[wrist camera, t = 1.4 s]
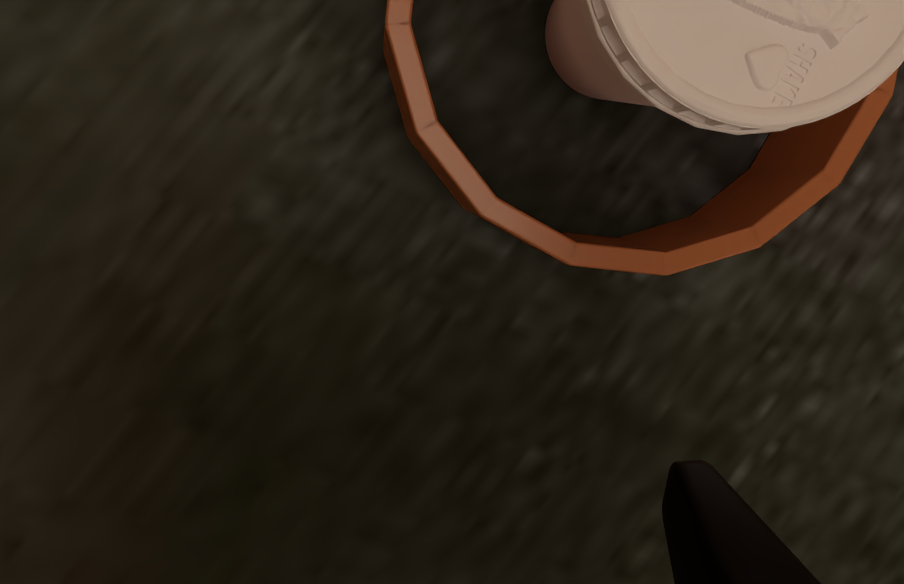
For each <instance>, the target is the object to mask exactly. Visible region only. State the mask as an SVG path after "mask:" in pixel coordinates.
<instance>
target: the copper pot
mask: <svg viewBox="0 0 904 584" xmlns="http://www.w3.org/2000/svg"><path fill="white" fill-rule="evenodd" d="M412 9H413V0H387V8H386V18H385V28H384V38H383V53H384V57H385V60H386V64H387V67H388V71H389V74H390V78H391V81H392V85H393V88H394V92H395V95H396V99H397V102H398V105H399V109H400V112H401V116H402V119H403V123H404V126H405V130H406V133H407V137H408V138H409V140H410V142H411V143H412V144H413V145H414V147H415V148H416V149H417V151H418V152H419V153H420V154H421V156H422V157H423V158H424V160H425V161H426V162H427V163H428V165H429V166H430V167H431V168H432V170H433V171H434V172H435V174H436V175H437V176H438V177H439V179H440V180H441V181H442V182H443V184H444V185H445V186H446V188H447V189H448V190H449V191H450V193H451V194H452V195H453V197H454V198H455V199H456V200H457V202H458V203H459V204H460V205H461V207H463V208H464V209H465V210H467V211H469V212H471V213H472V214H474V215H476V216H478V217H480V218H481V219H483V220H485V221H487V222H488V223H490V224H492V225H494V226H496V227H497V228H499V229H501V230H503V231H505V232H506V233H508V234H510V235H512V236H514V237H515V238H517V239H519V240H521V241H522V242H524V243H526V244H528V245H530V246H531V247H533V248H535V249H537V250H539V251H541V252H543V253H545V254H547V255H549V256H551V257H553V258H555V259H557V260H559V261H561V262H563V263H565V264H567V265H569V266H577V267H586V268H596V269H606V270H615V271H625V272H634V273H644V274H653V275H663V276H666V275H667V276H668V275H671V274H674V273H677V272H681V271H684V270H687V269H691V268H694V267H697V266H701V265H704V264H707V263H711V262H714V261H717V260H721V259H724V258H727V257H730V256H734V255H737V254H740V253H744V252H747V251H750V250H754V249H757V248H760V247H761V246H762V245H764V244H765V243H766V242H767V241H769V240H770V239H771V238H772V237H774V236H775V235H776V234H777V233H779V232H780V231H781V230H782V229H784V228H785V227H786V226H787V225H789V224H790V223H791V222H792V221H794V220H795V219H796V218H797V217H799V216H800V215H801V214H803V213H804V212H805V211H806V210H808V209H809V208H810V207H811V206H813V205H814V204H815V203H816V202H818V201H819V200H820V199H821V198H823V197H824V196H825V195H826V194H828V193H829V192H830V191H831V190H833V189H834V188H835V187H836V186H838V185H839V184H840V182H841V181H842V179H843V177H844V176H845V174H846V172H847V171H848V169H849V167H850V166H851V164H852V162H853V161H854V159H855V157H856V156H857V154H858V152H859V151H860V149H861V147H862V146H863V144H864V142H865V141H866V139H867V137H868V136H869V134H870V132H871V131H872V129H873V127H874V126H875V124H876V122H877V121H878V119H879V117H880V116H881V114H882V112H883V111H884V109H885V108H886V106H887V104H888V103H889V101H890V99H891V98H892V95H893V91H894V86H895V81H896V76H897V71H898V68H897V69H896V70H895V71H894V72H893V73H892V74H891V75H890V76H889V77H888V78H887V79H886V80H885V81H884V82H883V83H882V84H881V85H879V86H878V87H877V88H876V89H875V90H874V91H872V92H871V93H870V94H868V95H867V96H865V97H864V98H862V99H861V100H860V101H858V102H857V103H855V104H853V105H851V106H849V107H848V108H846V109H844V110H842V111H840V112H838V113H836V114H833V115H831V116H829V117H827V118H824V119H821V120H818V121H815V122H811V123H808V124H803V125H798V126H794V127H791V128H788V129H786V130H783V131H777V132H771V133H770V135H769V136H768V138H767V140H766V141H765V143H764V145H763V147H762V148H761V150H760V152H759V153H758V155H757V157H756V158H755V160H754V162H753V164H752V165H751V167H750V169H749V170H747V171H746V172H745V173H744V174H742V175H741V176H740V177H739V178H737V179H736V180H735V181H734V182H732V183H731V184H730V185H729V186H727V187H726V188H725V189H724V190H722V191H721V192H720V193H719V194H717V195H716V196H715V197H713V198H712V199H711V200H710V201H708V202H707V203H706V204H705V205H703V206H702V207H701V208H700V209H698V210H697V211H696V212H695V213H693V214H692V215H691V216H689V217H686V218H683V219H679V220H676V221H673V222H669V223H666V224H662V225H659V226H656V227H652V228H649V229H646V230H642V231H639V232H636V233H632V234H629V235H626V236H622V237H619V238H614V237H605V236H596V235H587V234H577V233H568V232H559V231H556V230H554V229H552V228H550V227H549V226H547V225H545V224H543V223H542V222H540V221H538V220H536V219H535V218H533V217H531V216H529V215H527V214H526V213H524V212H522V211H520V210H519V209H517V208H515V207H513V206H512V205H510V204H508V203H506V202H505V201H503V200H501V199H499V198H497V197H496V195H495V194H494V193H493V191H492V190H491V189H490V188H489V186H488V185H487V184H486V182H485V181H484V180H483V178H482V177H481V176H480V175H479V173H478V172H477V171H476V169H475V168H474V167H473V165H472V164H471V163H470V162H469V160H468V159H467V158H466V156H465V155H464V154H463V153H462V151H461V150H460V149H459V147H458V146H457V145H456V143H455V142H454V141H453V140H452V138H451V137H450V136H449V134H448V133H447V132H446V130H445V129H444V128H443V127H442V125H441V124H440V123H439V121H438V119H437V115H436V111H435V108H434V104H433V101H432V97H431V94H430V90H429V86H428V83H427V79H426V76H425V72H424V68H423V65H422V61H421V58H420V54H419V51H418V47H417V43H416V40H415V36H414V33H413V29H412V25H411V19H412Z"/></svg>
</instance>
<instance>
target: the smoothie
mask: <svg viewBox="0 0 904 584" xmlns="http://www.w3.org/2000/svg"><path fill="white" fill-rule="evenodd" d="M545 41H546V48H547V52H548V56H549V59H550V61H551V63H552V65H553V67H554V69H555V71H556V72H557V74H558V75H559V76H560V78H561V79H562V80H563V81H564V82H565V83H566V84H567V85H568V86H569V87H571V88H572V89H574V90H575V91H577V92H579V93H580V94H583V95H585V96H588V97H591V98H595V99H602V100H609V101H616V102H624V103H631V104H639V105H646V106H653V107H656V108H658V109H660V110H662V111H664V112H666V113H668V114H670V115H672V116H674V117H676V118H678V119H680V120H682V121H684V122H686V123H688V124H690V125H692V126H694V127H697V128H702V129H708V130H713V131H718V132H724V133H729V134H735V135H746V134H756V133H766V132H777V131H783V130H786V129H788V128H791V127H794V126H798V125H803V124H808V123H811V122H815V121H818V120H821V119H824V118H827V117H829V116H831V115H833V114H836V113H838V112H840V111H842V110H844V109H846V108H848V107H849V106H851V105H853V104H855V103H857V102H858V101H860V100H861V99H862V98H864V97H865V96H867V95H868V94H870V93H871V92H872V91H874V90H875V89H876V88H877V87H878V86H879V85H881V84H882V83H883V82H884V81H885V80H886V79H887V78H888V77H889V76H890V75H891V74H892V73H893V72H894V71H895V70H896V69H897V68H898V67H899V66H900V65H901V63H902V62H903V61H904V0H554V1H553V3H552V5H551V7H550V10H549V13H548V16H547V21H546V27H545Z"/></svg>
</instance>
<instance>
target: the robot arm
mask: <svg viewBox="0 0 904 584" xmlns="http://www.w3.org/2000/svg"><path fill="white" fill-rule="evenodd" d="M662 515H663V523H664V528H665V534H666V539H667V544H668V550H669V555H670V561H671V566H672V571H673V577H674V582H675V584H821V583H820V582H819V581H818V580H817V579H816V578H815V577H814V576H813V575H812V573H811V572H810V571H809V570H808V569H807V568H806V567H805V566H804V565H803V564H802V563H801V562H800V560H799V559H798V558H797V557H796V556H795V555H794V554H793V553H792V552H791V551H790V550H789V549H788V548H787V546H786V545H785V544H784V543H783V542H782V541H781V540H780V539H779V538H778V537H777V536H776V535H775V533H774V532H773V531H772V530H771V529H770V528H769V527H768V526H767V525H766V524H765V523H764V522H763V521H762V519H761V518H760V517H759V516H758V515H757V514H756V513H755V512H754V511H753V510H752V509H751V508H750V506H749V505H748V504H747V503H746V502H745V501H744V500H743V499H742V498H741V497H740V496H739V495H738V493H737V492H736V491H735V490H734V489H733V488H732V487H731V486H730V485H729V484H728V483H727V482H726V481H725V479H724V478H723V477H722V476H721V475H720V474H719V473H718V472H717V471H716V470H715V469H714V468H713V467H712V466H711V465H710V464H709V463H708V462H705V461H702V460H694V461H677V462H674V463H673V464H672V465H671V467H670V470H669V474H668V479H667V483H666V488H665V493H664V497H663V503H662Z"/></svg>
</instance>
